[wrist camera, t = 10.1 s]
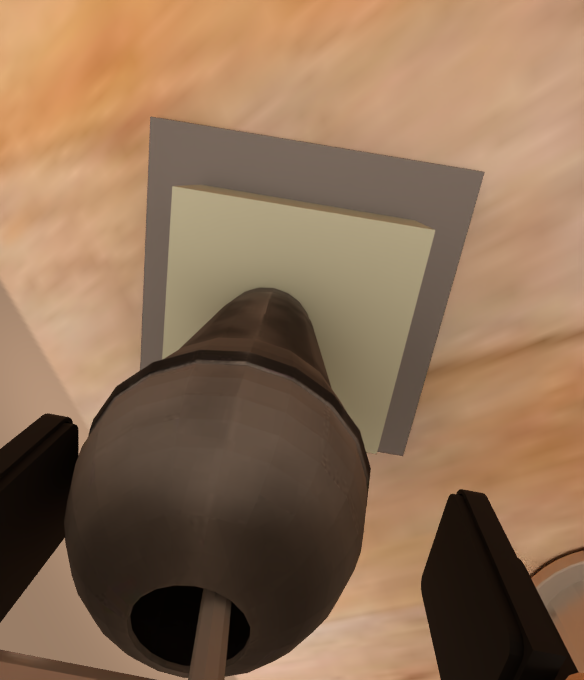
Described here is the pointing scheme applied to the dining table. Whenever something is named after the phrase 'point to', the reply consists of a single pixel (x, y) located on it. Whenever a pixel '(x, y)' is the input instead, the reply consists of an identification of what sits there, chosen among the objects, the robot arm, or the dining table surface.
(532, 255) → the dining table surface
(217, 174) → the plinth
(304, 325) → the beverage cup
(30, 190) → the dining table surface
